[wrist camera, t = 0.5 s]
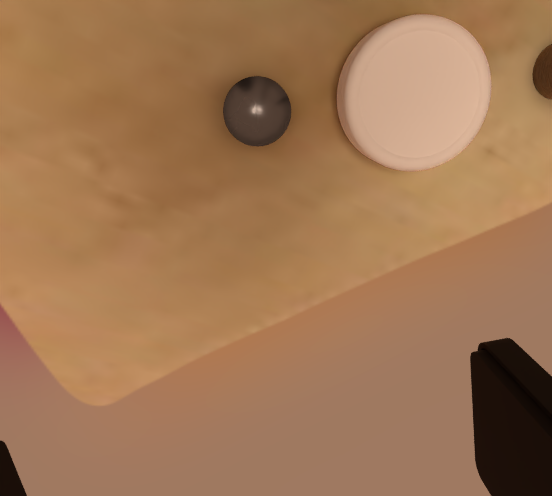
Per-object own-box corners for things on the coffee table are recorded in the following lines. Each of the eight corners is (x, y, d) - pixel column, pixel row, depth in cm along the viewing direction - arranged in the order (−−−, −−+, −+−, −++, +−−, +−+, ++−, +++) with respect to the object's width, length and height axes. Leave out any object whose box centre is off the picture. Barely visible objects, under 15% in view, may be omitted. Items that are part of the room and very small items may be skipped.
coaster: (453, 172, 39) (473, 181, 35) (324, 156, 38) (333, 163, 34) (486, 31, 36) (512, 25, 33) (348, 8, 35) (360, 0, 31)
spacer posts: (339, -125, 32) (363, -171, 26) (597, 59, 37) (664, 54, 31) (214, 119, 36) (211, 125, 30) (462, 257, 41) (500, 285, 35)
